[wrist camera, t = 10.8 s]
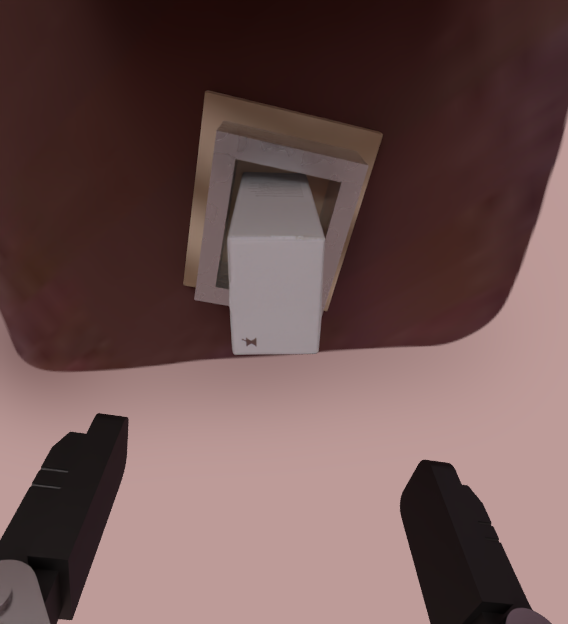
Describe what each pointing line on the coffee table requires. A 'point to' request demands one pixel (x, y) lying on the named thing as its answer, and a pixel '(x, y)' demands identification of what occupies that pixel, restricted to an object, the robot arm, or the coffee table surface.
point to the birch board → (280, 122)
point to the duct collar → (288, 156)
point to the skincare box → (275, 266)
